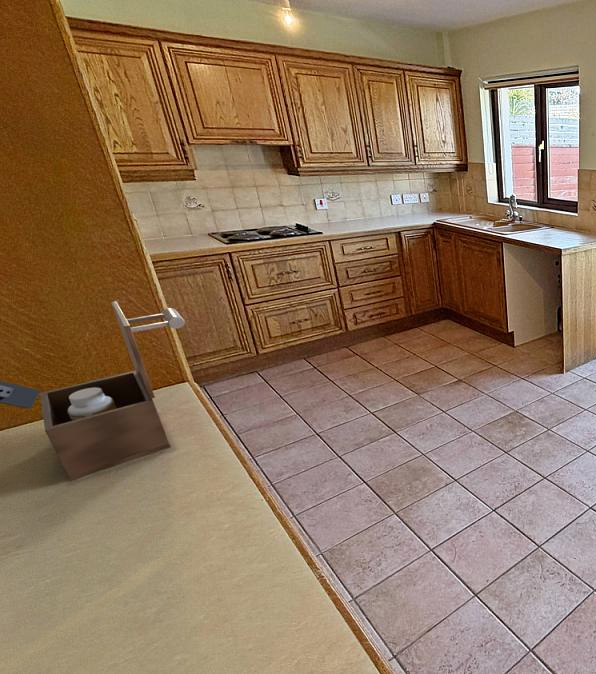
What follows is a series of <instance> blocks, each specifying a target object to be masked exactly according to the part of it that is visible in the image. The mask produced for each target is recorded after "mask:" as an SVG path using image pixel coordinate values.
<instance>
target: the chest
mask: <svg viewBox="0 0 596 674" xmlns="http://www.w3.org/2000/svg"><path fill="white" fill-rule="evenodd" d="M87 388H101V389H102V391H103V393H104V396H108V397H111V398H112V399H113V401H114V403H115V405H116V408H117V409H114V410H111V411H107V412H103V413H100V414H96V415H92V416H88V417H85V418H81V419H77V420H74V421H72V420H71V418H70V416H69V414H68V408H69V407H70V406H71V405H72V404H71V402H70V399H69V396H70V395H71V394H73V393H74V392H77V391H79V390H83V389H87ZM39 397H40V403H41V411H42V418H43V419H42V420H43V425H44V426H43V427H44V431H45V434H46V436H47V438H48V440H49V441H50V444H51V445H52V448H53V450H54V452H55V454H56V456H57V458H58V459H59V461H60V463H61V465H62V467H63V469H64V471H65V473H66V476H67V478H68V480H69V481H70V482H71V481H74V480H76V479H80V478H82V477H86V476H89V475H91V474H94V473H98V472H101V471H103V470H107V469H110V468H113V467H116V466H119V465H122V464H124V463H127V462H130V461H134V460H137V459H140V458H142V457H146V456H149V455H151V454H154V453H158V452H161V451H164V450H167V449H170V448H172V447H171V446H172V445H171V443H170V441H169V439H168V436H167V433H166V430H165V427H164V425H163V422H162V420H161V418H160V414H159V412H158V409H157V407H156V403H155V402H154V398H152V399H149V397H148V395H147V393H146V390H145V388H144V386H143V384H142V382H141V380H140V378H139V376H138V374H137V372H136V370H132V371H128V372H124V373H119V374H115V375H112V376H107V377H103V378H98V379H94V380H90V381H86V382H85V381H84V382H82V383H77V384H72V385H68V386H65V387H61V388H55V389H52V390H48V391H47V390H46V391H43V392H40V393H39Z"/></svg>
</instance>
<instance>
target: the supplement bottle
mask: <svg viewBox="0 0 596 674" xmlns="http://www.w3.org/2000/svg"><path fill="white" fill-rule="evenodd" d="M69 399H70V402H71V404H72V405H71V406H70V407H69V408H68V414H69V416H70V418H71V420H72V421H74V420H77V419H81V418H85V417H88V416H92V415H96V414H100V413H103V412H107V411H111V410H114V409H117V408H116V405H115V403H114V401H113V399H112V398H111V397H108V396H104V393H103V391H102V389H101V388H87V389H83V390H79V391H77V392H74V393H73V394H71V395H70V396H69Z"/></svg>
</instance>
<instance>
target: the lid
mask: <svg viewBox="0 0 596 674" xmlns="http://www.w3.org/2000/svg"><path fill="white" fill-rule="evenodd" d="M110 304H111V306H112V309H113V312H114V315H115V317H116V320H117V322H118V326H119V329H120V331H121V334H122V337H123V340H124V342H125V346H126V348H127V351H128V354H129V357H130V360H131V362H132V366H133V368H134V371H136V372H137V374H138V376H139V378H140V380H141V382H142V384H143V386H144V388H145V390H146V393H147V395H148V397H149V399H155V398H156V396H155V393H154V391H153V387H152V385H151V382H150V380H149V379H150V378H149V377H148V373H147V371H146V367H145V364H144V362H143V358H142V356H141V353H140V351H139V346H138V344H137V342H136V338H135V336H134V333H136V332H140V331H141V332H143V331H148V330H153V329H159V328H163V327H170V328H172V329H177V330H178V329H181V328H183V327H184V326H185V323H186V321H185V319H184V318H183V317H182V315H180V313H179V312H178V311H177V310H176V309H174V308H172V307H168V308H165V309H163V310H162V311H161V313H157V314H150V315H144V316H138V317H133V318H127V317H126V316H125V314H124V312H123V311H122V309H121V307H120V305H119V303H118V301H117V300H115V301H114V300H113V301H111V302H110ZM159 319H164V320H165V321H160V322H155V323H148V324H143V325H138V326H132V327H131V324H137V323H142V322H148V321H154V320H159Z"/></svg>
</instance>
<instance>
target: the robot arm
mask: <svg viewBox="0 0 596 674" xmlns="http://www.w3.org/2000/svg"><path fill="white" fill-rule="evenodd" d="M40 393H41V390H40V389H36V388H31V387H27V386H25V385H23V386H22V385H18V384H15V383H11V382H6V381H1V380H0V404H2V405H8V406H12V407H18V408H22V409H28V410H29V409H32V407H33V405H34V403H35V402H36V400H37V398H38V396H39V395H40Z"/></svg>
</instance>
